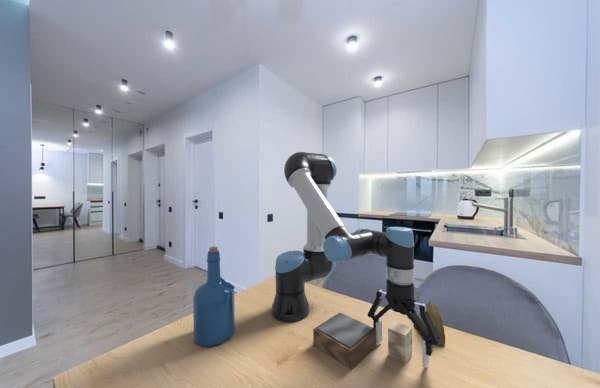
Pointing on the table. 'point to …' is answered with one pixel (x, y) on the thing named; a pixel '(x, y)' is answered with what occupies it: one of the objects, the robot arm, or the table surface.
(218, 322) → the wine bottle
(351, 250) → the robot arm
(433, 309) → the rock
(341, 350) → the walnut plinth
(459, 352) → the table surface
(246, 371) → the table surface
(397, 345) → the beech block
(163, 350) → the table surface
